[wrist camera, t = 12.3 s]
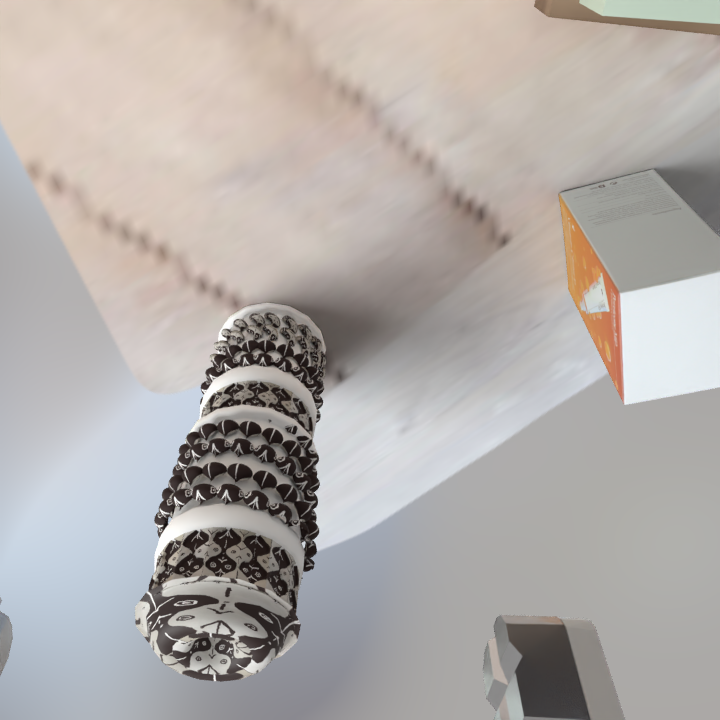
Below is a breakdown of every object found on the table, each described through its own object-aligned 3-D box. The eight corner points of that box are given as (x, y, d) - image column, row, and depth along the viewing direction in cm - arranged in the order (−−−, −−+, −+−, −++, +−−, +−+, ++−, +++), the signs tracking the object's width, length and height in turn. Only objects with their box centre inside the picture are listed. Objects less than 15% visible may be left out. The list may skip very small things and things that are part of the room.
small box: (555, 191, 43) (617, 291, 33) (654, 166, 42) (751, 261, 32) (566, 292, 48) (623, 408, 37) (655, 272, 47) (740, 386, 36)
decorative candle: (355, 346, 51) (350, 653, 31) (279, 410, 55) (231, 719, 35) (264, 275, 47) (191, 571, 27) (190, 349, 51) (78, 655, 31)
